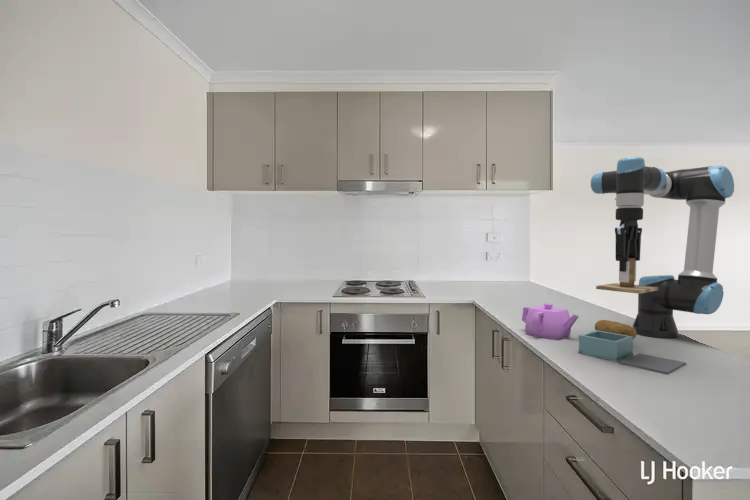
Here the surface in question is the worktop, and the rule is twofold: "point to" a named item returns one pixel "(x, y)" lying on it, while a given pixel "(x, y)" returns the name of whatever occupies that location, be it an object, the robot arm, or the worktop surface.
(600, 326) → the potato
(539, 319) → the teakettle
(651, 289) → the lid
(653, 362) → the mat
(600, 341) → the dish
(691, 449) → the worktop surface
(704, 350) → the worktop surface
